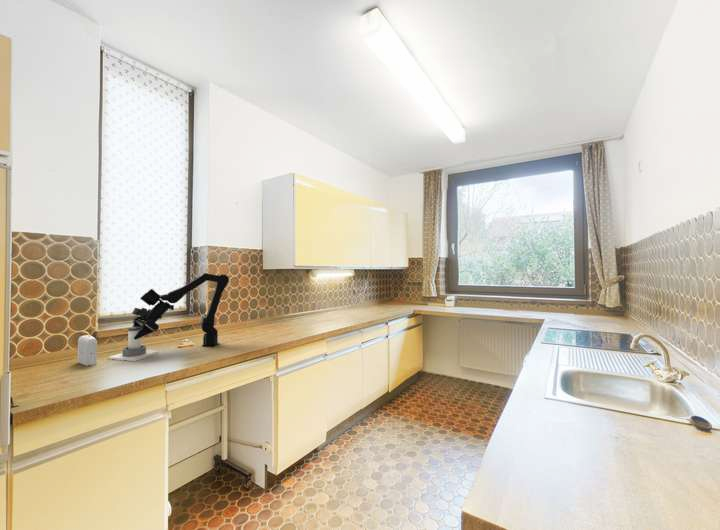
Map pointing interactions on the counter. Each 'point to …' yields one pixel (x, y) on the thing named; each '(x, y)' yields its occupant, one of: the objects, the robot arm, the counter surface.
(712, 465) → the counter surface
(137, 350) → the collar
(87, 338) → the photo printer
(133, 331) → the canister
